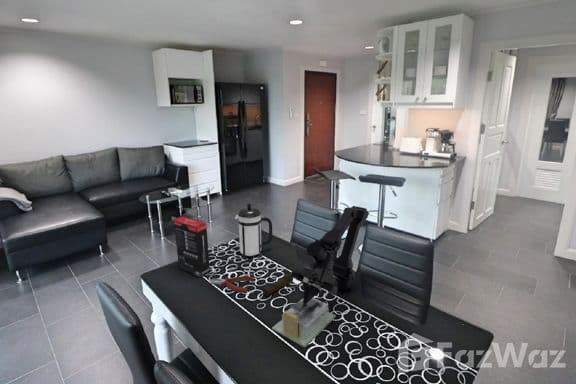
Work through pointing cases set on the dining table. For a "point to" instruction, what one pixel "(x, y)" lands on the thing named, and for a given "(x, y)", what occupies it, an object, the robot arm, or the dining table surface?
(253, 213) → the coffee press
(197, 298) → the dining table surface
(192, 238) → the graphics card box
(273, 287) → the hand tool
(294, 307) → the dark grey flat bar
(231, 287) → the pliers
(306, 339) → the board
